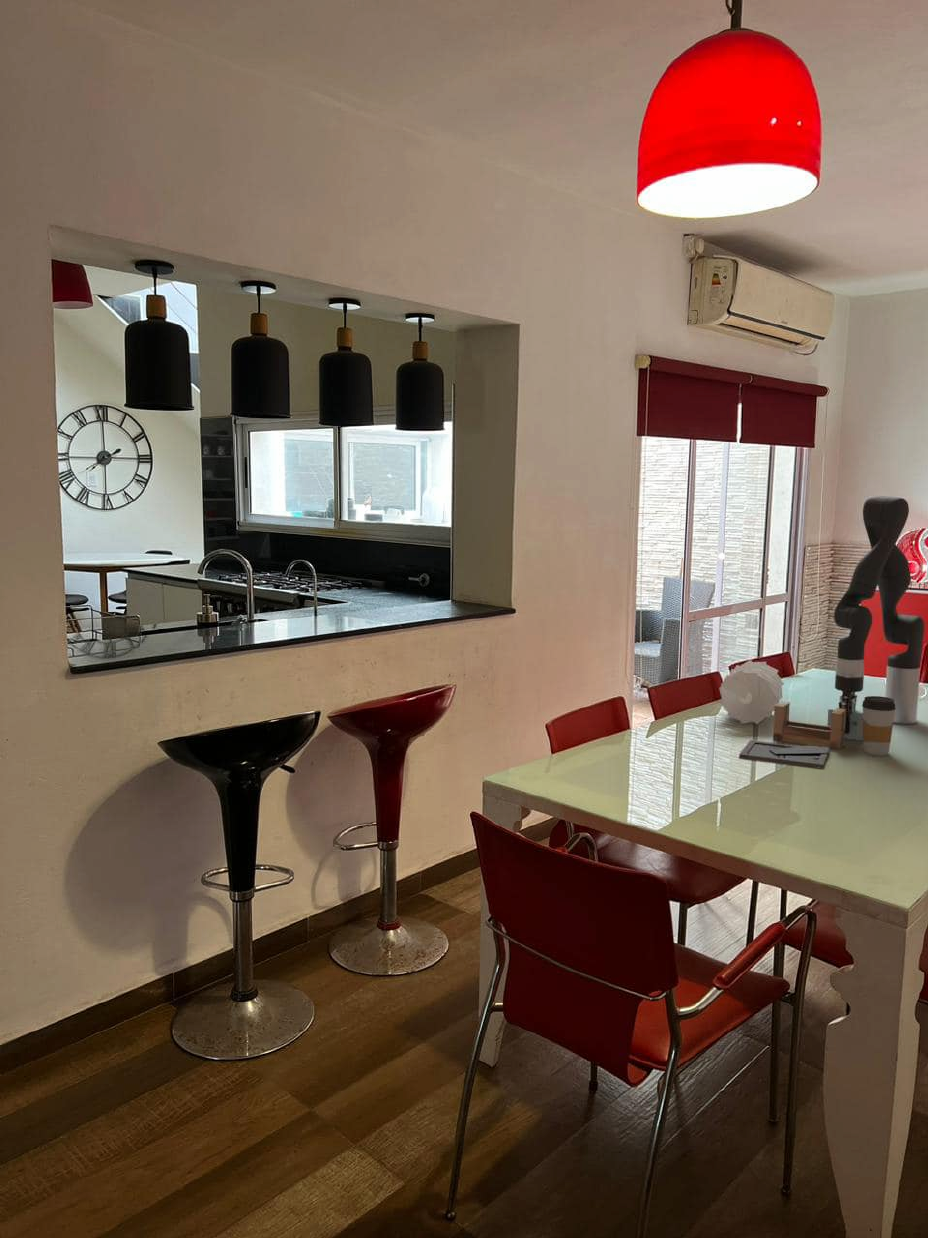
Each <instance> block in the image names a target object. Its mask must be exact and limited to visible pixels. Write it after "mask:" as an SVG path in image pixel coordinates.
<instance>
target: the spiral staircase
mask: <svg viewBox="0 0 928 1238" xmlns="http://www.w3.org/2000/svg"><path fill="white" fill-rule="evenodd" d="M778 672H779V670H778V669H776V668H774V667H772V666H770V665H768V664H767V661H756V662H755V661H754V662H753V660H752V659H749V660H748V661H746V662H744V663H743V664H741V665H738V664H736V666H735V667H734V669H732V668H731V670H730V672H729V674H726V675H725V678H724V679H723V681H722V682H721V684H720V687H719V692H720V697H721V701H720V702H719V704H720V705H721V706H722V708H724V710H726V711H727V714H726V715H727V717H729V718H732V719H735V720H738V721H740V724H748V723H749V724H750V723H753V722H754V723H755V725H758V724H759V723H760V722H761V721H763V720H764V719H765V718H771V715H772V714H773V713H774V706H775V705H776V704H778V703H779V702H780V700H781V699H783V686H785V682H784V680H782V679H781V677H780V676H779V674H778ZM781 701H782V700H781Z"/></svg>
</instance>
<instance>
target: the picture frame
mask: <svg viewBox="0 0 928 1238" xmlns="http://www.w3.org/2000/svg"><path fill="white" fill-rule="evenodd" d="M830 749H831V748H827V747H820V746H814V745H795V744H786V743H780V742H779V743H778V742H769V741H762V740H753V739H750V740H749V741H748V742H747V744H746V745H745V746H744V747H743V748H742V750H741V752H739V756H738V757H739V759H745V760H746V759H747V760H753V761H762V762H769V763H776V764H777V763H778V764H784V765H790V766H791V765H793V766H800V767H807V768H814V767H820V768H819V769H822V768H823V769H824V767H825V764H826V763H827V761H828V760H827V759H828V757H829V755H830Z"/></svg>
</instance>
